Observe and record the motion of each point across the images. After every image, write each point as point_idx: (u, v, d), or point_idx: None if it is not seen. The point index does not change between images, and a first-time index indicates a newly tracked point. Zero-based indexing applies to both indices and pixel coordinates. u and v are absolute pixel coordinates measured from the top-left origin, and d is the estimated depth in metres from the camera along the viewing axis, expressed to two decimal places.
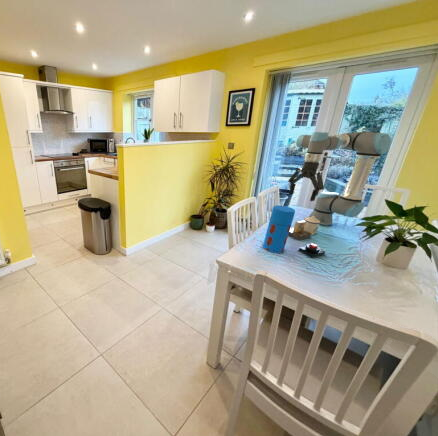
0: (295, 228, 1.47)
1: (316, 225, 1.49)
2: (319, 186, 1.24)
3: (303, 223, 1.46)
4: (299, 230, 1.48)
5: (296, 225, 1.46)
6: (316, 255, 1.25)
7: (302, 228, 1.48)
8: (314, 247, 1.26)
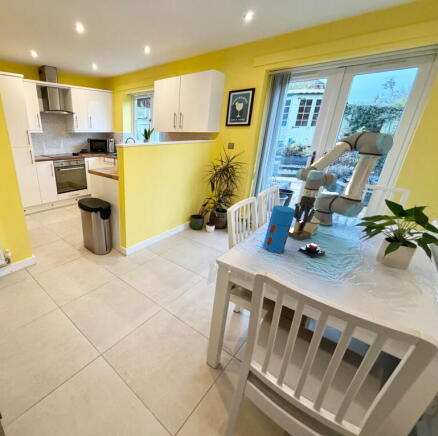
0: (295, 228, 1.47)
1: (316, 225, 1.49)
2: (307, 220, 1.41)
3: None
4: None
5: (296, 225, 1.46)
6: (316, 255, 1.25)
7: None
8: (314, 247, 1.26)
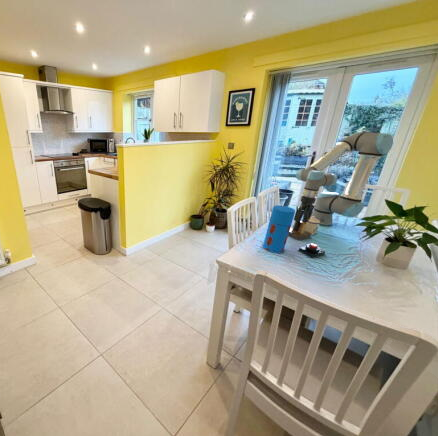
0: (304, 229, 1.45)
1: (316, 225, 1.49)
2: (309, 217, 1.46)
3: None
4: None
5: (305, 226, 1.44)
6: (316, 255, 1.25)
7: None
8: (314, 247, 1.26)
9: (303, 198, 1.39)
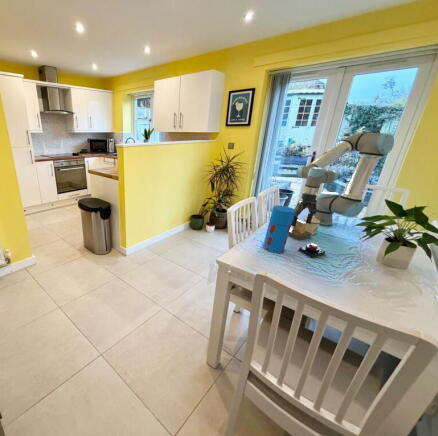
0: (304, 229, 1.45)
1: (316, 225, 1.49)
2: (316, 210, 1.46)
3: None
4: None
5: (305, 226, 1.44)
6: (316, 255, 1.25)
7: None
8: (314, 247, 1.26)
9: (304, 195, 1.39)
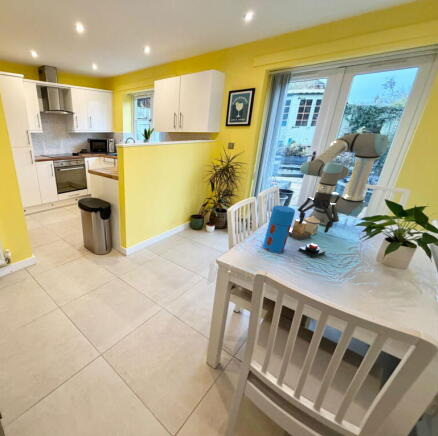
0: (304, 229, 1.45)
1: (316, 225, 1.49)
2: (334, 218, 1.19)
3: None
4: None
5: (305, 226, 1.44)
6: (316, 255, 1.25)
7: None
8: (314, 247, 1.26)
9: None
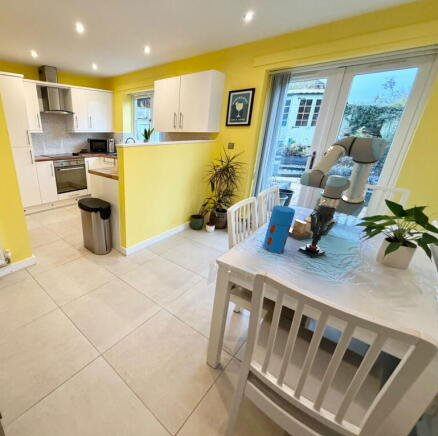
0: (304, 229, 1.45)
1: None
2: (323, 233, 1.21)
3: None
4: None
5: (305, 226, 1.44)
6: (316, 255, 1.25)
7: None
8: (314, 247, 1.26)
9: None
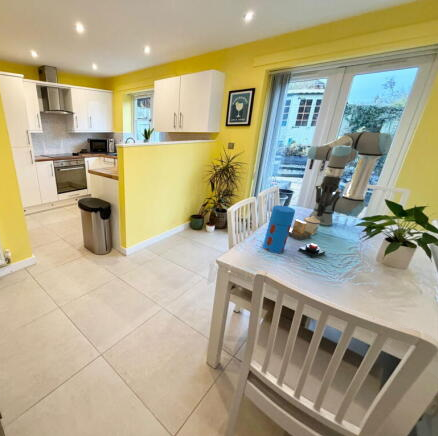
0: (304, 229, 1.45)
1: (316, 225, 1.49)
2: (329, 203, 1.24)
3: None
4: None
5: (305, 226, 1.44)
6: (316, 255, 1.25)
7: None
8: (314, 247, 1.26)
9: None
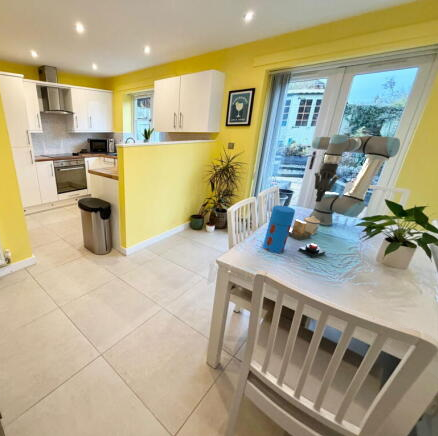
0: (304, 229, 1.45)
1: (316, 225, 1.49)
2: (327, 188, 1.33)
3: None
4: None
5: (305, 226, 1.44)
6: (316, 255, 1.25)
7: None
8: (314, 247, 1.26)
9: None
